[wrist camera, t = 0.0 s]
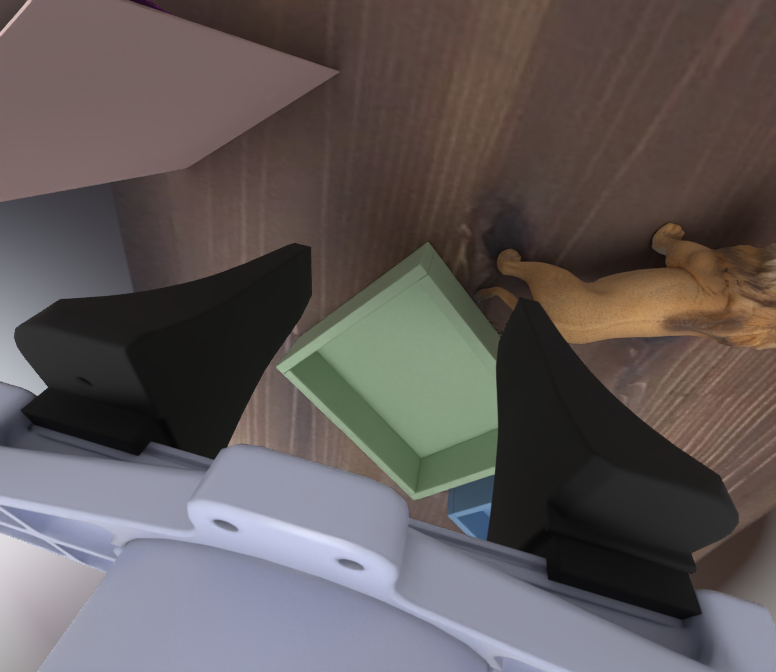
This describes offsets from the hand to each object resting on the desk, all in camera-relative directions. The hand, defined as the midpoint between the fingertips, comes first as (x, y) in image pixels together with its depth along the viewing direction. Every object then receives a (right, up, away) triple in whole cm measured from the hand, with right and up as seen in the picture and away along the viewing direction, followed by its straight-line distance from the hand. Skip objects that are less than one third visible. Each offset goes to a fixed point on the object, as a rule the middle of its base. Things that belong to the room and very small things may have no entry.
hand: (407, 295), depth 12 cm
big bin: (+2, -4, +15) cm, 15 cm away
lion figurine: (+12, +3, +8) cm, 15 cm away
